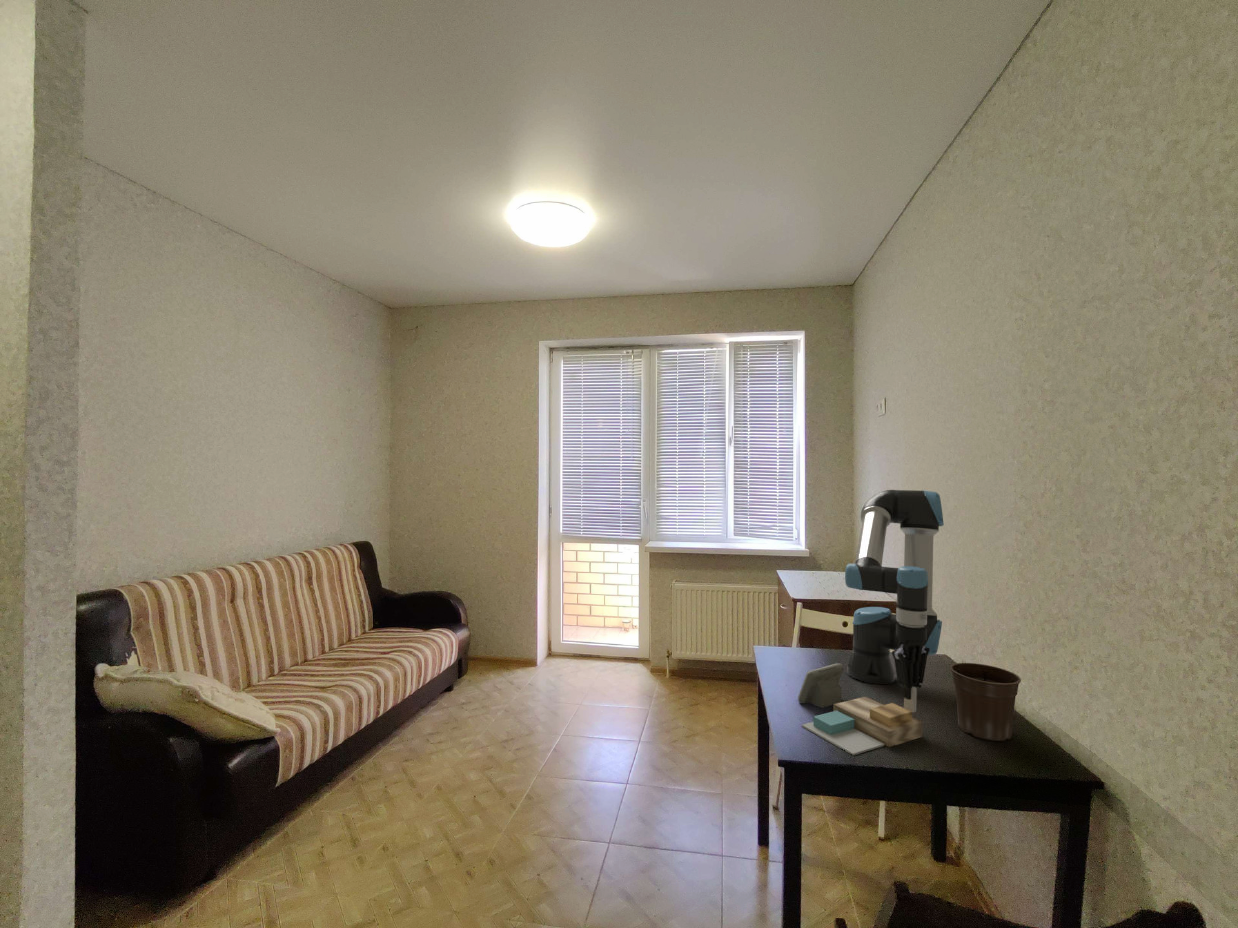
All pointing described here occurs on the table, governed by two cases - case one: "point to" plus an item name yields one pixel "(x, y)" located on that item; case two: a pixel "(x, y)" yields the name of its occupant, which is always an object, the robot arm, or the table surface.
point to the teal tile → (833, 722)
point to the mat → (847, 739)
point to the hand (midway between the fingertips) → (909, 709)
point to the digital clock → (822, 686)
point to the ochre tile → (890, 715)
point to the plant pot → (985, 700)
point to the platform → (874, 729)
